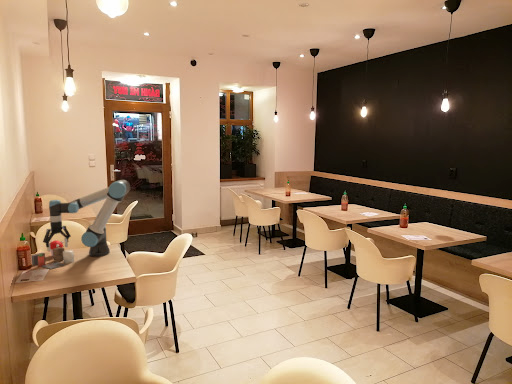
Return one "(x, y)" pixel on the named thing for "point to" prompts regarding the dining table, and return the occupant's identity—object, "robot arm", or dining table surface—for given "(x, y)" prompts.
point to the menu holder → (36, 258)
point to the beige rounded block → (68, 256)
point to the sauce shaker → (41, 260)
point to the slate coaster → (53, 265)
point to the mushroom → (55, 245)
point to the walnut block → (58, 254)
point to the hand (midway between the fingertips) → (57, 249)
